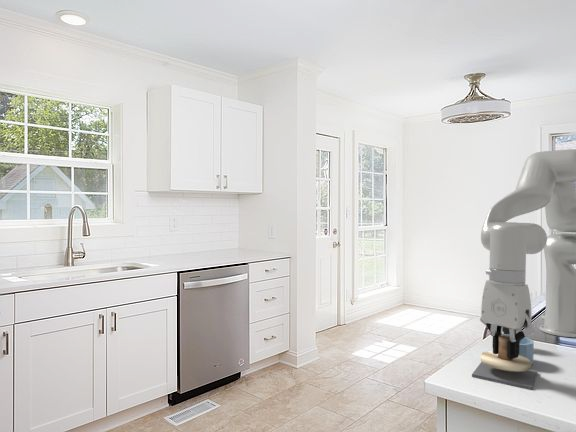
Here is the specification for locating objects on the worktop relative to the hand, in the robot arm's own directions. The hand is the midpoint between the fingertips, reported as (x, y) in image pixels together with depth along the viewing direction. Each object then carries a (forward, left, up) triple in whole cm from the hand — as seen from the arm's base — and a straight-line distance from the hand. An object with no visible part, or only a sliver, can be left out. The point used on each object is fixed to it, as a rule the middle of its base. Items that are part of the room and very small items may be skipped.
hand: (505, 354), depth 100 cm
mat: (0, 0, -5) cm, 5 cm away
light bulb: (-21, +13, -5) cm, 25 cm away
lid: (0, 0, -2) cm, 2 cm away
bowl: (-9, +8, -5) cm, 13 cm away
